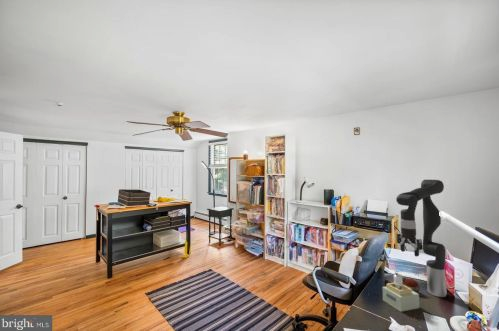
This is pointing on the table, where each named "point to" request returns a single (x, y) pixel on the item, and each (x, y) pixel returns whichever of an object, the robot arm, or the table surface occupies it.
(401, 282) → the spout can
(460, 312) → the table surface
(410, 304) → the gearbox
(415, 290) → the figurine
